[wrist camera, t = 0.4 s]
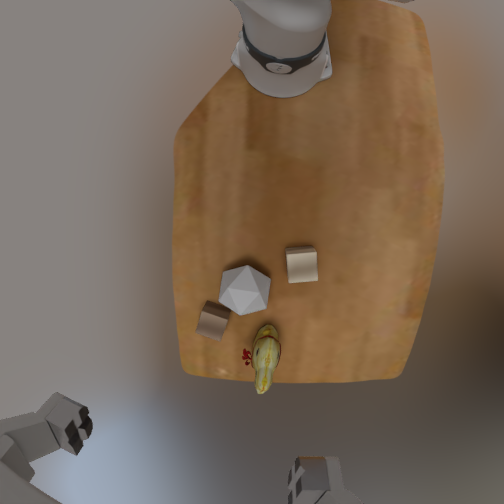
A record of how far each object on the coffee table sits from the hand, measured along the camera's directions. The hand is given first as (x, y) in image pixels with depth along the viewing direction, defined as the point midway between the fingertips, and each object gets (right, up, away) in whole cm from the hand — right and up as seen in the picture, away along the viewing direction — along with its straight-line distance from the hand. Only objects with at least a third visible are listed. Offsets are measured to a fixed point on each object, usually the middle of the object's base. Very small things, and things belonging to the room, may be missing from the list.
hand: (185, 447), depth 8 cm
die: (+1, +1, +45) cm, 45 cm away
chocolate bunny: (+4, -11, +48) cm, 49 cm away
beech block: (+11, +6, +44) cm, 45 cm away
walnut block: (-5, -5, +47) cm, 48 cm away
